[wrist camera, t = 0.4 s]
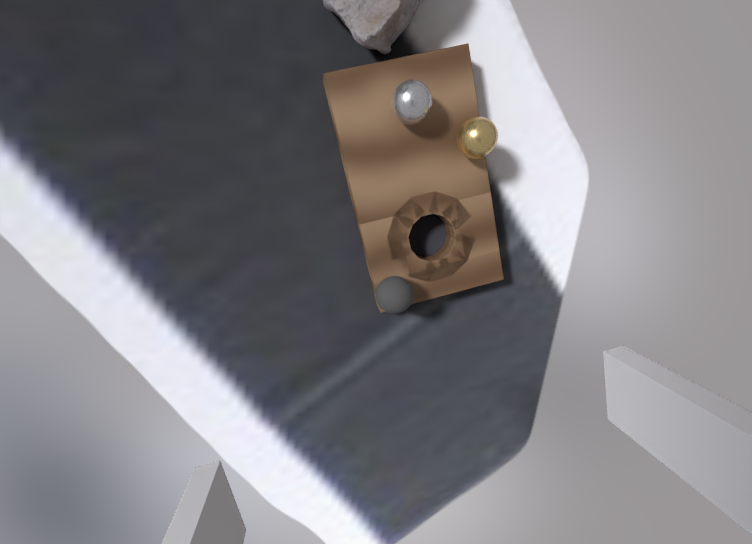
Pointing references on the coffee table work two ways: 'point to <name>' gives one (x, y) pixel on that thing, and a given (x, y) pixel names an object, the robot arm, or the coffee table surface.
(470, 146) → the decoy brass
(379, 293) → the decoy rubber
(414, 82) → the ball
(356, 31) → the stone
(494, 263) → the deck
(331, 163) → the coffee table surface
